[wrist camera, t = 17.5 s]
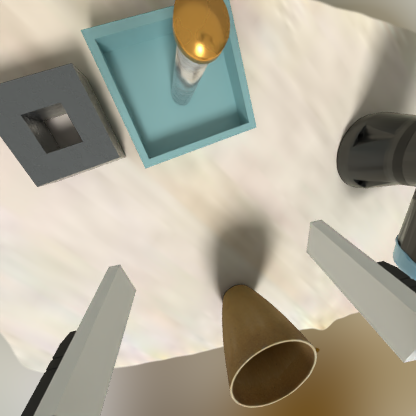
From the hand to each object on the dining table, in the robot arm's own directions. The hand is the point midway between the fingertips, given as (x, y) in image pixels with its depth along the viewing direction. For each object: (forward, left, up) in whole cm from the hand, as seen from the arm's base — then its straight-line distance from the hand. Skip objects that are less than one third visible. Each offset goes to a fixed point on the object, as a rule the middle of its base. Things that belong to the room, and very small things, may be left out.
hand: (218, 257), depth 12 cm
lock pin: (-5, -15, -20) cm, 25 cm away
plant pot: (-2, +28, -21) cm, 35 cm away
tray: (-5, -15, -21) cm, 26 cm away
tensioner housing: (+12, -15, -21) cm, 28 cm away
